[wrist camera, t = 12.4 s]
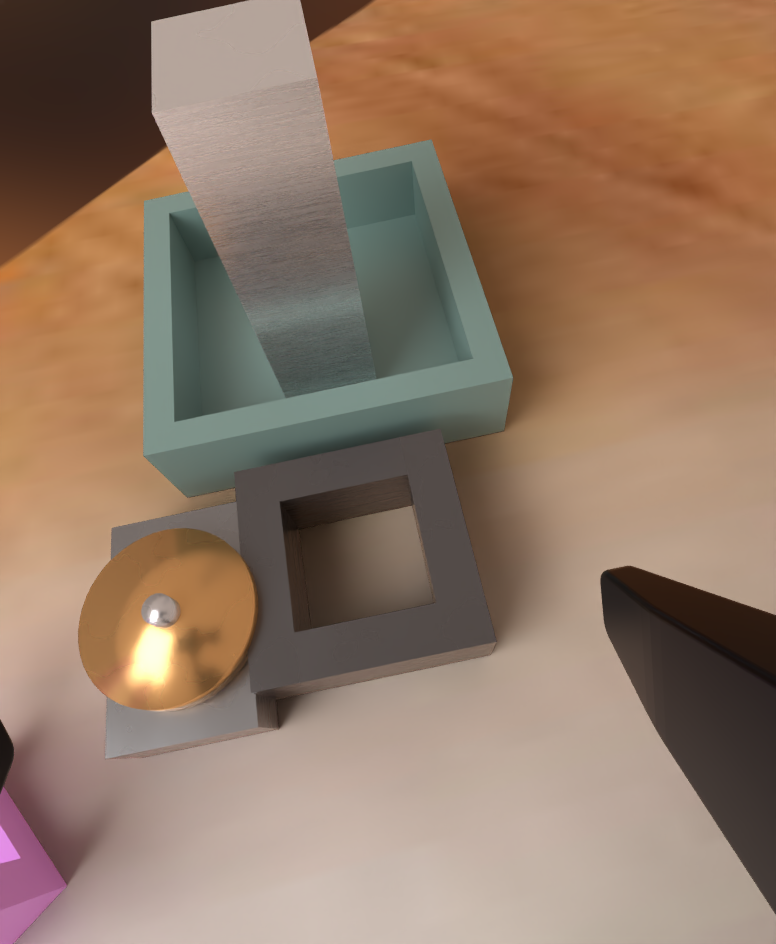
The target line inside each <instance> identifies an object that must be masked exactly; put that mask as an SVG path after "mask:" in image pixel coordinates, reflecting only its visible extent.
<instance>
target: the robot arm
mask: <svg viewBox="0 0 776 944" xmlns="http://www.w3.org/2000/svg"><path fill="white" fill-rule="evenodd" d="M601 594H602V605H603V616H604V624H605V628H606V631H607V634H608V636H609V638H610V640H611V642H612V644H613V646H614V648H615V650H616V652H617V654H618V656H619V658H620V660H621V662H622V664H623V666H624V668H625V670H626V672H627V674H628V676H629V678H630V680H631V682H632V684H633V686H634V688H635V690H636V692H637V694H638V696H639V698H640V700H641V702H642V704H643V706H644V708H645V710H646V712H647V714H648V716H649V718H650V719H651V721H652V723H653V725H654V727H655V729H656V731H657V732H658V734H659V735H660V737H661V739H662V740H663V742H664V744H665V745H666V747H667V748H668V750H669V751H670V753H671V754H672V756H673V758H674V759H675V761H676V762H677V764H678V765H679V767H680V768H681V770H682V771H683V773H684V774H685V776H686V778H687V779H688V781H689V782H690V784H691V785H692V787H693V788H694V790H695V791H696V793H697V794H698V796H699V797H700V799H701V801H702V802H703V804H704V805H705V807H706V808H707V810H708V811H709V813H710V814H711V816H712V817H713V819H714V821H715V822H716V824H717V825H718V827H719V828H720V830H721V831H722V833H723V834H724V836H725V837H726V839H727V840H728V842H729V844H730V845H731V847H732V848H733V850H734V851H735V853H736V854H737V856H738V857H739V859H740V860H741V862H742V863H743V865H744V867H745V868H746V870H747V871H748V873H749V874H750V876H751V877H752V879H753V880H754V882H755V883H756V885H757V887H758V888H759V890H760V891H761V893H762V894H763V896H764V897H765V899H766V900H767V902H768V903H769V905H770V906H771V908H772V910H773V911H774V913H775V914H776V615H774V614H771V613H768V612H765V611H762V610H759V609H756V608H753V607H750V606H747V605H744V604H741V603H738V602H736V601H733V600H730V599H727V598H724V597H721V596H718V595H715V594H712V593H709V592H706V591H703V590H700V589H697V588H695V587H692V586H689V585H686V584H683V583H680V582H677V581H674V580H671V579H668V578H665V577H662V576H659V575H656V574H654V573H651V572H648V571H645V570H642V569H639V568H636V567H633V566H624V567H619V568H615V569H610V570H606V571H604V572H603V573H602V575H601ZM13 757H14V747H13V743H12V741H11V739H10V737H9V735H8V733H7V731H6V729H5V727H4V725H3V724H2V722H1V720H0V794H1V791H2V789H3V786H4V783H5V781H6V778H7V775H8V773H9V770H10V768H11V765H12V762H13Z"/></svg>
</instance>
